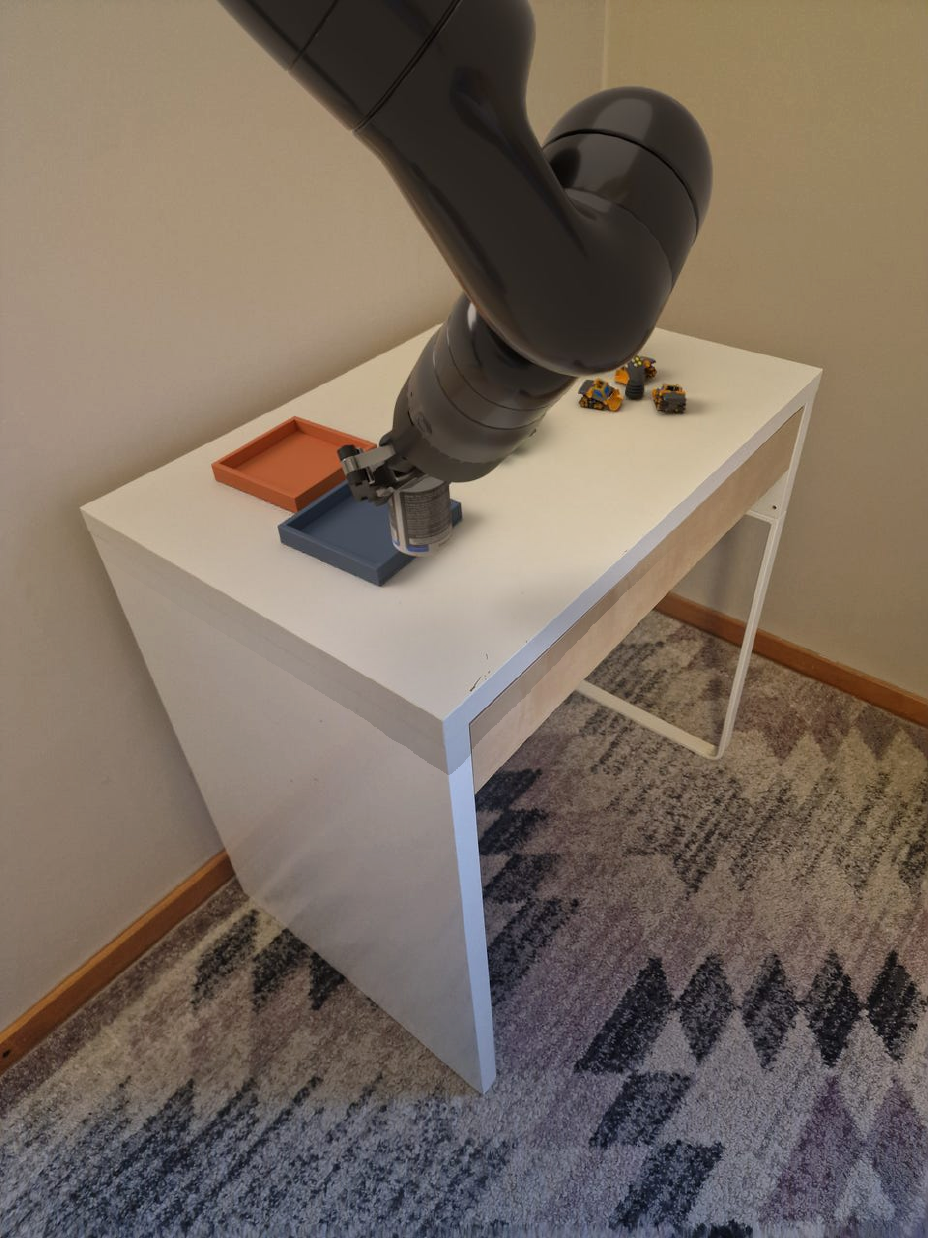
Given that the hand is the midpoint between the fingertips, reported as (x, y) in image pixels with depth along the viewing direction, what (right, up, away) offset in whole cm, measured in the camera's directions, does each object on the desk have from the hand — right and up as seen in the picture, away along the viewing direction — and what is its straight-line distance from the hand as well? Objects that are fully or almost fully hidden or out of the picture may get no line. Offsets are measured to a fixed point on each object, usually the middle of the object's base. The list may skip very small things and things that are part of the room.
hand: (407, 482), depth 65 cm
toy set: (+24, +14, +33) cm, 43 cm away
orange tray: (-13, +5, +25) cm, 29 cm away
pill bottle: (+1, -4, +1) cm, 5 cm away
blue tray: (-4, -2, +16) cm, 17 cm away
